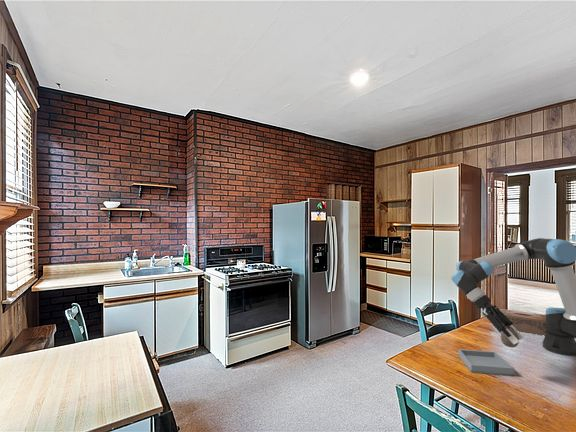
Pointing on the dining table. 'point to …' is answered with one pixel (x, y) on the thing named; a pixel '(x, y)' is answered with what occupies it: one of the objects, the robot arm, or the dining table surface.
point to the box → (485, 362)
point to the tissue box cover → (526, 321)
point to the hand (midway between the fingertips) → (518, 340)
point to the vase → (506, 340)
